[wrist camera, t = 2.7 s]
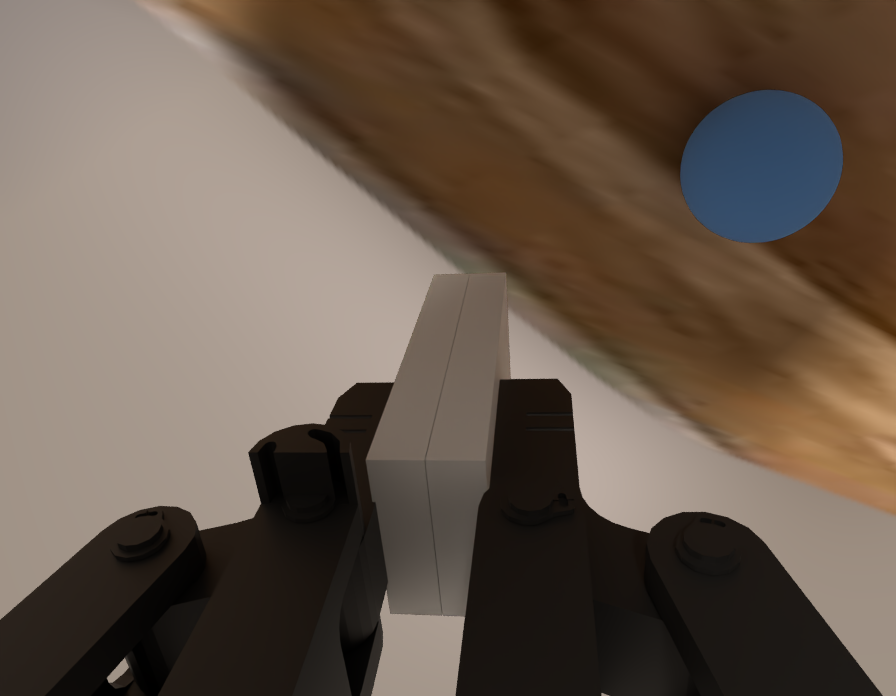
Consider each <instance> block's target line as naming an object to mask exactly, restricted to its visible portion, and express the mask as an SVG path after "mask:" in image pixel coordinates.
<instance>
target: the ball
mask: <svg viewBox="0 0 896 696" xmlns="http://www.w3.org/2000/svg"><path fill="white" fill-rule="evenodd" d="M842 167H843V151H842V143H841V139H840V136H839V133H838V131H837V129H836V127H835V125H834V123H833V122H832V120H831V119H830V118H829V116H828V115H827V114H826V113H825V112H824V111H823V109H822V108H820V107H819V106H818V105H816V104H815V103H814V102H812V101H811V100H809V99H807V98H805V97H803V96H801V95H798V94H795V93H792V92H787V91H782V90H758V91H753V92H748V93H745V94H742V95H739V96H736V97H734V98H732V99H730V100H728V101H726V102H724V103H723V104H721V105H719V106H718V107H716V108H715V109H714V110H713V111H711V112H710V113H709V114H708V115H707V116H706V117H705V118H704V119H703V120H702V121H701V122H700V123H699V125H698V126H697V127H696V128H695V130H694V132H693V133H692V135H691V136H690V138H689V140H688V142H687V145H686V147H685V150H684V153H683V156H682V162H681V171H680V179H681V188H682V192H683V195H684V198H685V201H686V203H687V205H688V207H689V209H690V210H691V212H692V213H693V215H694V216H695V217H696V219H697V220H698V221H700V222H701V223H702V224H703V225H704V226H705V227H706V228H708V229H709V230H710V231H712V232H713V233H715V234H717V235H719V236H722V237H724V238H727V239H730V240H733V241H738V242H746V243H759V242H768V241H773V240H777V239H780V238H783V237H786V236H788V235H791V234H793V233H795V232H796V231H798V230H800V229H802V228H803V227H804V226H806V225H807V224H809V223H810V222H811V221H812V220H814V219H815V218H816V217H817V216H818V215H819V214H820V213H821V212H822V211H823V209H824V208H825V207H826V205H827V204H828V203H829V201H830V200H831V198H832V196H833V195H834V193H835V191H836V188H837V186H838V184H839V181H840V177H841V173H842Z"/></svg>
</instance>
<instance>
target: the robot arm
mask: <svg viewBox="0 0 896 696" xmlns="http://www.w3.org/2000/svg"><path fill="white" fill-rule="evenodd" d="M248 453H249V457H250V461H251V465H252V469H253V473H254V477H255V480H256V485H257V489H258V493H259V497H260V501H261V505H260V507H259V509H258V511H257V512H256V514H255V516H254V518H252V519H248V520H245V521H242V522H238V523H234V524H229V525H224V526H220V527H215V528H210V529H205V530H201V531H199V530H198V526H197V524H196V521H195V520H194V518H193V516H192V515H191V513H190V512H188V511H186V510H183V509H181V508H179V507H170V506H169V507H167V506H158V507H153V508H148V509H143V510H139V511H137V512H134V513H132V514H130V515H128V516H125V517H123V518H120V519H119V520H117V521H116V522H114V523H113V524H111V525H110V526H109V527H107V528H106V529H104V530H103V531H102V532H100V533H99V534H98V535H97V536H96V537H95V538H94V539H92V540H91V541H90V542H89V543H88V544H87V545H85V546H84V547H83V548H82V549H81V550H80V551H79V552H77V553H76V554H75V555H74V556H73V557H72V558H71V559H70V560H69V561H67V562H66V563H65V564H64V565H63V566H61V568H59V569H58V570H57V571H56V572H55V573H54V574H52V575H51V576H50V577H49V578H48V579H47V580H45V581H44V582H43V583H42V584H41V585H40V586H39V587H37V588H36V589H35V590H34V591H33V592H32V593H31V594H29V595H28V596H27V597H26V598H25V599H24V600H23V601H21V602H20V603H19V604H18V605H17V606H16V607H14V608H13V609H12V610H11V611H10V612H9V613H8V614H6V615H5V616H4V617H3V618H2V619H1V620H0V696H371V694H372V689H373V686H374V681H375V677H376V673H377V668H378V664H379V660H380V656H381V651H382V647H383V631H382V624H381V619H380V611H381V608H382V603H383V600H384V595H385V591H386V590H387V596H388V602H389V608H390V613H391V614H415V615H442V614H443V616H465V622H464V630H463V640H462V647H461V655H460V664H459V672H458V680H457V688H456V696H601V693H604V694H607V695H609V696H882V694H881V693H880V691H879V690H878V689H877V688H876V686H875V685H874V684H873V682H872V681H871V680H870V679H869V677H868V676H867V675H866V673H865V672H864V671H863V669H862V668H861V667H860V666H859V664H858V663H857V662H856V660H855V659H854V658H853V656H852V655H851V654H850V653H849V651H848V650H847V649H846V647H845V646H844V645H843V644H842V642H841V641H840V640H839V638H838V637H837V636H836V634H835V633H834V632H833V631H832V629H831V628H830V627H829V626H828V624H827V623H826V622H825V620H824V619H823V618H822V616H821V615H820V614H819V612H818V611H817V610H816V609H815V607H814V606H813V605H812V603H811V602H810V601H809V600H808V598H807V597H806V596H805V595H804V593H803V592H802V590H801V589H800V588H799V587H798V585H797V584H796V583H795V581H794V580H793V579H792V578H791V576H790V575H789V574H788V573H787V571H786V570H785V569H784V567H783V566H782V565H781V563H780V562H779V561H778V559H777V558H776V557H775V555H774V554H773V553H772V552H771V550H770V549H769V548H768V546H767V545H766V544H765V543H764V542H763V541H762V540H761V539H760V538H759V537H758V536H757V535H756V534H755V533H754V532H752V531H751V530H750V529H749V528H748V527H746V526H744V525H742V524H740V523H738V522H736V521H734V520H732V519H730V518H728V517H724V516H720V515H715V514H711V513H707V512H682V513H678V514H675V515H672V516H669V517H666V518H663V519H662V520H661V521H660V522H659V523H657V524H656V525H655V526H654V527H653V528H651V531H650V533H647V532H643V531H638V530H635V529H631V528H627V527H624V526H621V525H618V524H615V523H613V522H611V521H609V520H607V519H605V518H603V517H602V516H600V515H598V514H597V513H596V512H595V511H594V510H593V509H591V508H590V507H589V506H588V504H587V503H586V502H585V500H584V499H583V498H582V494H581V491H580V488H579V479H578V478H579V477H578V466H577V455H576V443H575V433H574V421H573V409H572V398H571V393H570V392H569V391H568V390H567V389H566V388H565V387H564V386H563V384H562V383H561V382H560V381H559V380H558V379H511V378H510V353H509V329H508V305H507V281H506V272H504V273H473V274H442V275H434V277H433V279H432V282H431V285H430V287H429V290H428V293H427V296H426V298H425V301H424V304H423V306H422V309H421V312H420V314H419V317H418V320H417V323H416V325H415V328H414V331H413V333H412V336H411V339H410V342H409V344H408V347H407V350H406V352H405V355H404V358H403V360H402V363H401V366H400V368H399V372H398V374H397V377H396V379H395V382H394V383H356V384H355V385H354V386H353V387H351V388H350V389H349V390H348V391H346V392H345V393H344V394H343V395H341V396H340V397H339V398H338V400H337V402H336V404H335V406H334V408H333V410H332V412H331V414H330V419H328V420H327V422H326V424H325V425H321V424H304V425H295V426H291V427H288V428H285V429H282V430H279V431H276V432H274V433H272V434H270V435H269V436H267V437H265V438H264V439H262V440H260V441H259V442H258V443H257V444H256V445H255V446H254V447H253V448H252V449H251V450H250V451H249V452H248ZM124 658H125V659H126V661H127V664H128V666H129V668H128V669H127V671H126V672H125V673H124V674H123V675H122V676H120V677H119V678H118V679H117V680H115V681H114V682H113V683H109V682H108V680H107V677H108V676H109V675H110V673H111V672H112V671H113V670H114V669H115V668H116V667H117V666H118V665H119V663H120V662H121V661H122V660H123V659H124Z"/></svg>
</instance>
